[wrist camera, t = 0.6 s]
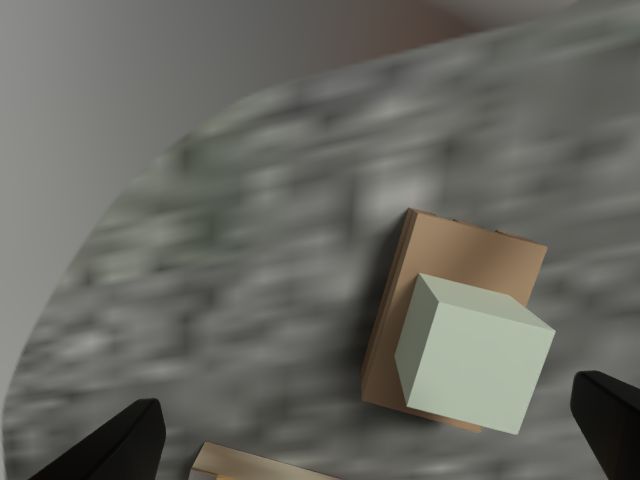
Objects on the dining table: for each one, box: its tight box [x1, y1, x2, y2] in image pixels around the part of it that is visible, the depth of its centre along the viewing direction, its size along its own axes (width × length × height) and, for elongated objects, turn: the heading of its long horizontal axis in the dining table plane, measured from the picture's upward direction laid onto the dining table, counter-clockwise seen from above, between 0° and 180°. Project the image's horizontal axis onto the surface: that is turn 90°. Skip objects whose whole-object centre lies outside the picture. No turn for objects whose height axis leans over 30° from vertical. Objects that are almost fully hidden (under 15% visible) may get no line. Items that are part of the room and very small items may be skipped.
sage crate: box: [395, 273, 556, 435], centre depth 16 cm, size 4×4×4 cm
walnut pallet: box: [360, 208, 548, 433], centre depth 20 cm, size 6×9×3 cm, turn 166°
